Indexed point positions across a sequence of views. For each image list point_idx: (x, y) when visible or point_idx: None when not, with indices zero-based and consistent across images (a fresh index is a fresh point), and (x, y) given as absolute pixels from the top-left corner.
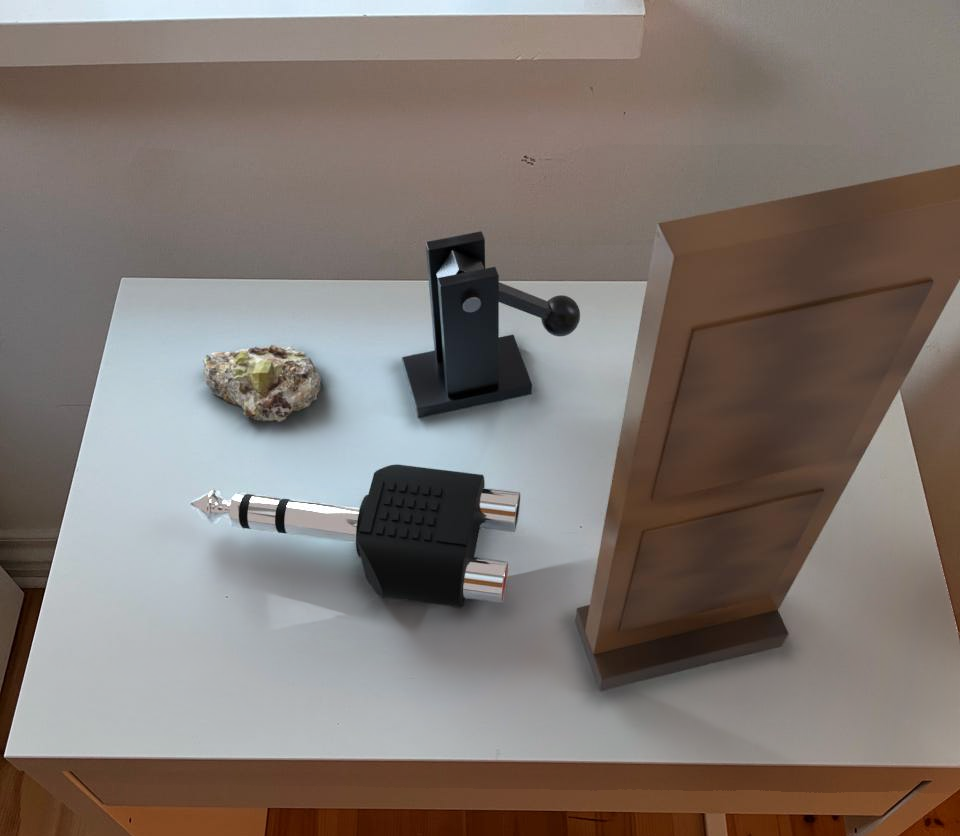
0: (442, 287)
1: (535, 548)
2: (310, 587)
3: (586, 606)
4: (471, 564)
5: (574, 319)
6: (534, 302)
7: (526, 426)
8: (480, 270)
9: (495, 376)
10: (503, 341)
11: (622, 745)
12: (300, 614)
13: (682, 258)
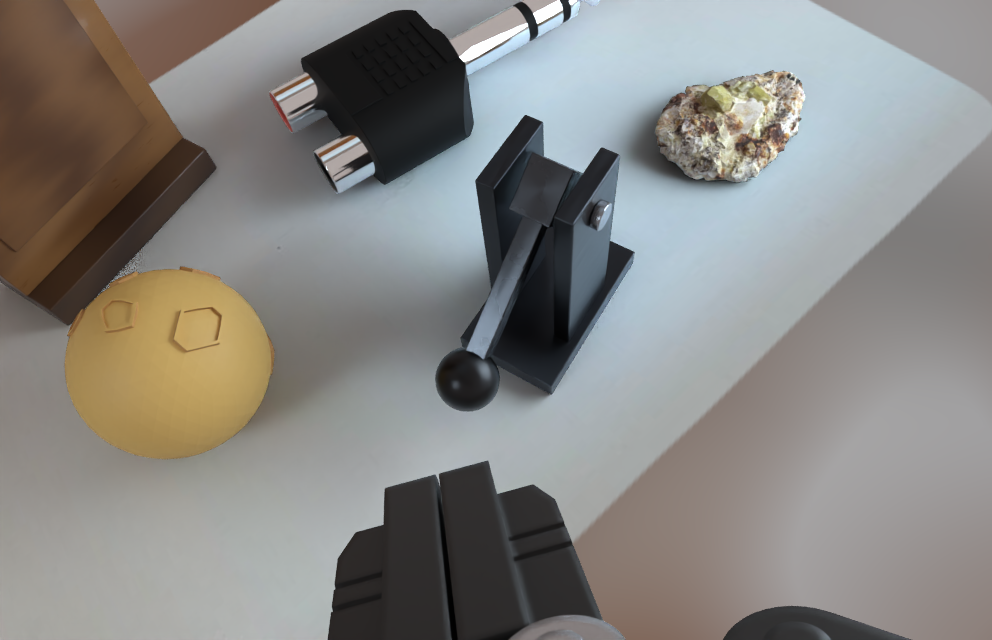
0: (523, 117)
1: (305, 197)
2: None
3: (197, 156)
4: (308, 80)
5: (436, 374)
6: (483, 317)
7: (430, 305)
8: (504, 168)
9: None
10: (551, 365)
11: None
12: (446, 15)
13: None
